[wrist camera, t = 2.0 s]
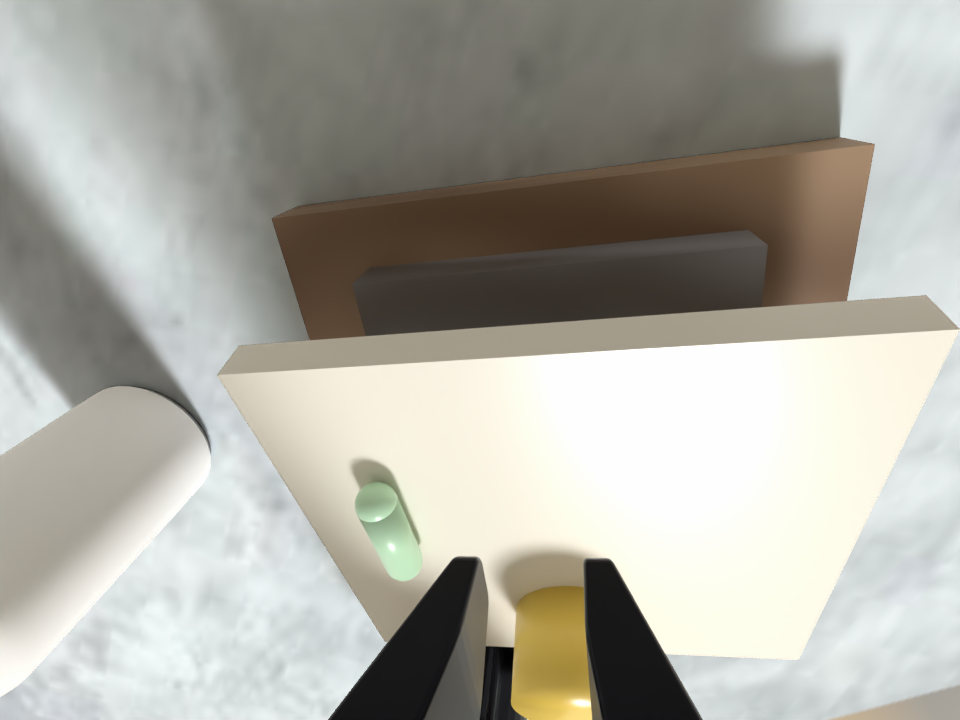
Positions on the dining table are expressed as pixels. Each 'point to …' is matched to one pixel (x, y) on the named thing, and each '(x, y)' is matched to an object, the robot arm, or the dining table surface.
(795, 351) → the plate
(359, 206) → the walnut base
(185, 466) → the can
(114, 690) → the dining table surface
